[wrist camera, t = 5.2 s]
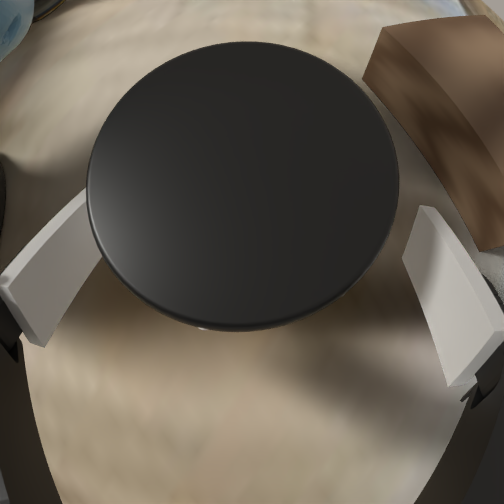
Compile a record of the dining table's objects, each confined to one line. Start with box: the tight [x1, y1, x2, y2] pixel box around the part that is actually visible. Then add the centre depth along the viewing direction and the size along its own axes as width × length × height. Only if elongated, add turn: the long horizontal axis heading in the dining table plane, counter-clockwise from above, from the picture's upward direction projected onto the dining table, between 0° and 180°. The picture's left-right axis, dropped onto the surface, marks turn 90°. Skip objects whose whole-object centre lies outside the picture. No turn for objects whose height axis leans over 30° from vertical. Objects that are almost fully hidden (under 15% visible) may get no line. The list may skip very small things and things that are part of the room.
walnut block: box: [362, 15, 504, 252], centre depth 16 cm, size 16×16×6 cm
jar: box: [86, 42, 399, 332], centre depth 13 cm, size 9×8×12 cm
